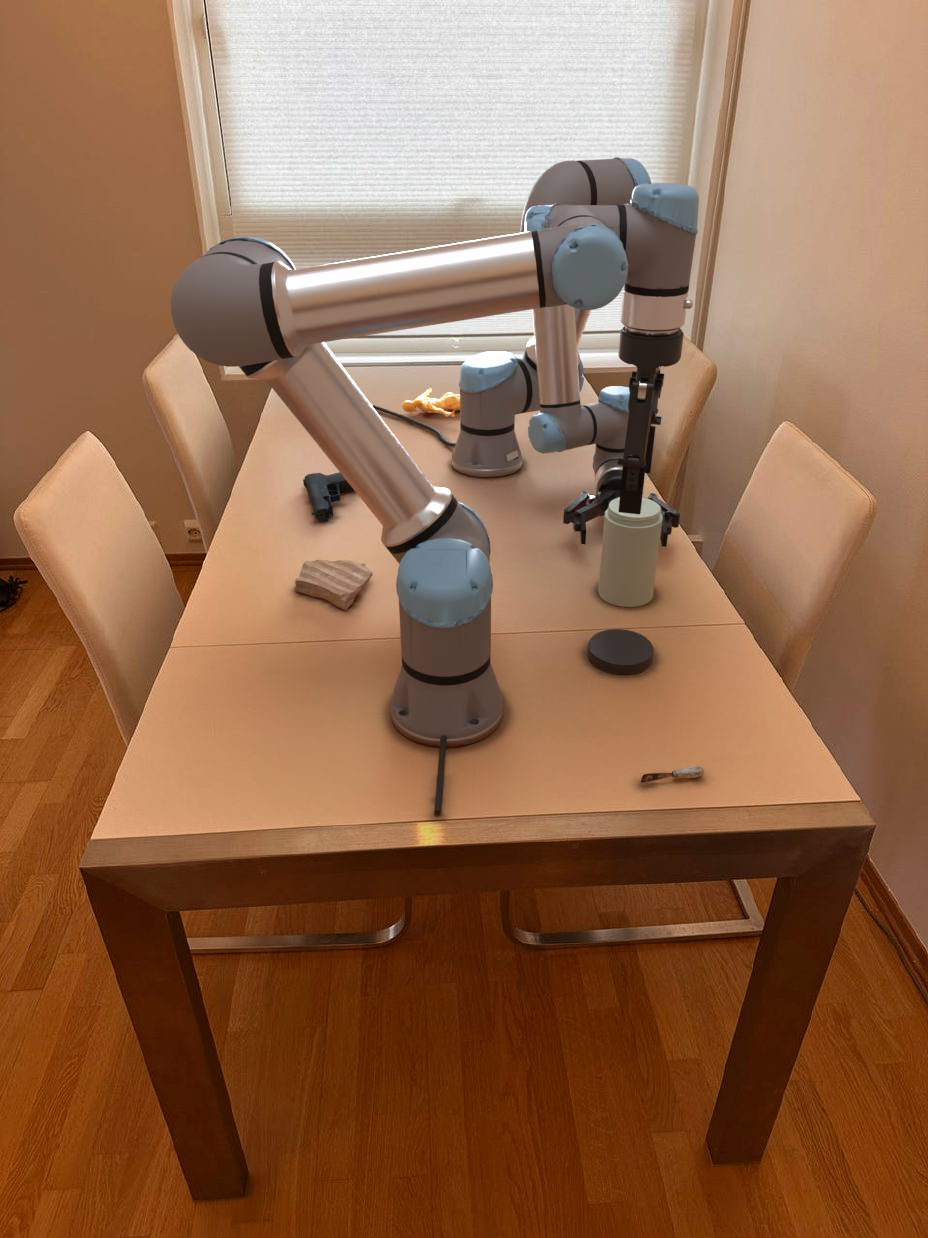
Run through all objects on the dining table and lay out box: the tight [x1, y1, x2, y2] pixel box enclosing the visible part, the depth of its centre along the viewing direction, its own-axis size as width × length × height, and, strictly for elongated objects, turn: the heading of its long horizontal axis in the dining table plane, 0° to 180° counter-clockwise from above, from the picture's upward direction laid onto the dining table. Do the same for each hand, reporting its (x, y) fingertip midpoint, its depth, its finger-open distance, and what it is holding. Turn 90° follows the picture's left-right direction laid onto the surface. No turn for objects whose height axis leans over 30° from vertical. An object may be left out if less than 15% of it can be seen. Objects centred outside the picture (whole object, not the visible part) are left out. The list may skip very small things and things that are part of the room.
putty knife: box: [640, 765, 705, 784], centre depth 109 cm, size 1×8×2 cm, turn 103°
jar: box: [597, 496, 663, 608], centre depth 144 cm, size 9×9×16 cm
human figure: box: [402, 385, 460, 418], centre depth 225 cm, size 20×20×4 cm
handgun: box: [302, 471, 355, 523], centre depth 178 cm, size 3×18×12 cm
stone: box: [294, 559, 374, 611], centre depth 149 cm, size 13×12×3 cm
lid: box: [587, 628, 655, 676], centre depth 132 cm, size 10×10×2 cm
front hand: (635, 491), depth 118 cm, fingers open, 13 cm apart
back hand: (624, 538), depth 150 cm, fingers open, 13 cm apart
